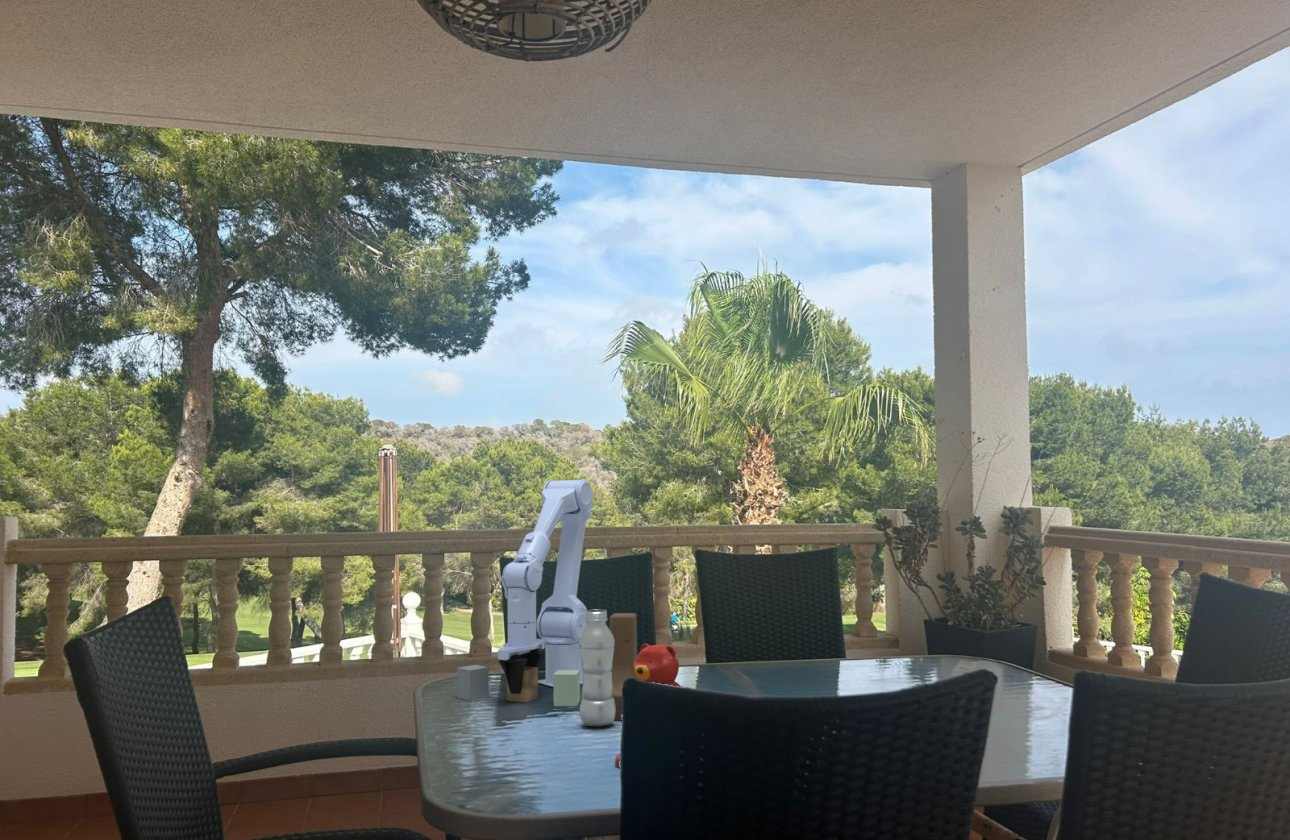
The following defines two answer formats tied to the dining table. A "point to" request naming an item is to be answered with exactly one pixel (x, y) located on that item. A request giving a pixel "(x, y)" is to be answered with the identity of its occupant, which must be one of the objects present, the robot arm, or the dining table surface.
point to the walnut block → (526, 686)
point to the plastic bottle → (597, 671)
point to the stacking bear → (655, 667)
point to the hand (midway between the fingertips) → (522, 690)
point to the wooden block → (623, 653)
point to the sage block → (566, 687)
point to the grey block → (472, 682)
